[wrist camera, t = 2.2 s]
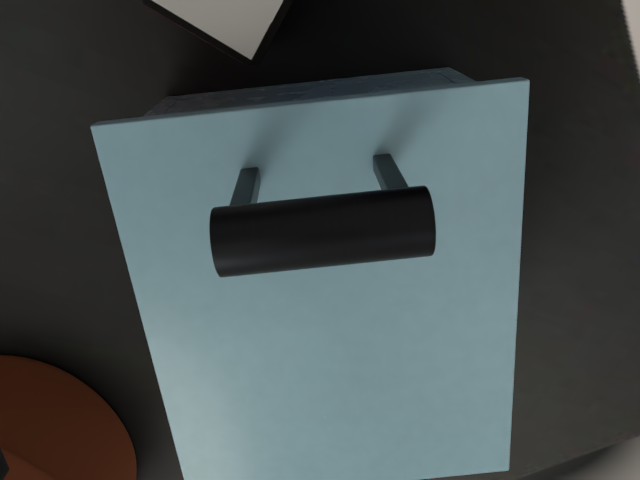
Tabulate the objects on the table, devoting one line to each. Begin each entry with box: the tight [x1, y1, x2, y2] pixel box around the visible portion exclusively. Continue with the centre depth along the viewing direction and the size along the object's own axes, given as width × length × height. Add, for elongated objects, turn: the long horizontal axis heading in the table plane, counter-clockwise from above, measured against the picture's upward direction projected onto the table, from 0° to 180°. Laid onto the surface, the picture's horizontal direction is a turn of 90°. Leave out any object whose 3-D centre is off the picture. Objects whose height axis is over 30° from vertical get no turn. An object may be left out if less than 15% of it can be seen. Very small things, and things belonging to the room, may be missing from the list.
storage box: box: [142, 67, 477, 117], centre depth 30 cm, size 18×16×11 cm
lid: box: [91, 77, 530, 480], centre depth 21 cm, size 19×16×8 cm
